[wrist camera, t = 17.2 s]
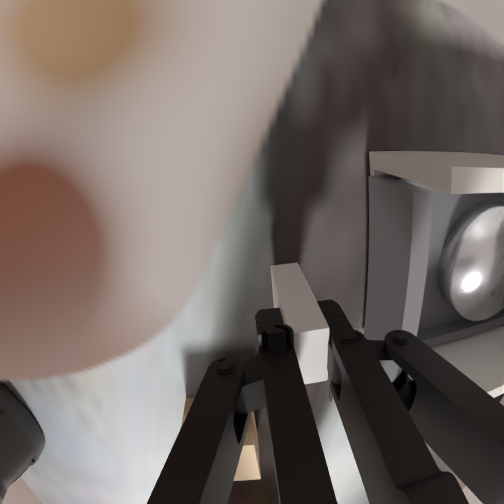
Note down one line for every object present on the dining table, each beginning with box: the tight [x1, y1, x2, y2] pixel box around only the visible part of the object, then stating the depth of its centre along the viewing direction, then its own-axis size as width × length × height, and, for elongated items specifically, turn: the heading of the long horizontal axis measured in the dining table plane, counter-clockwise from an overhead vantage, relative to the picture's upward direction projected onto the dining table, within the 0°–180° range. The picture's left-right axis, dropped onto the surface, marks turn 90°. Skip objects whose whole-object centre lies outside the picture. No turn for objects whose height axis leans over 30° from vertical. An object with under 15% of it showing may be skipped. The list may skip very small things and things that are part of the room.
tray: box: [364, 175, 504, 347], centre depth 16 cm, size 17×11×5 cm
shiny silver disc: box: [438, 201, 504, 321], centre depth 17 cm, size 8×8×2 cm
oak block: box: [182, 397, 261, 481], centre depth 21 cm, size 5×5×5 cm
